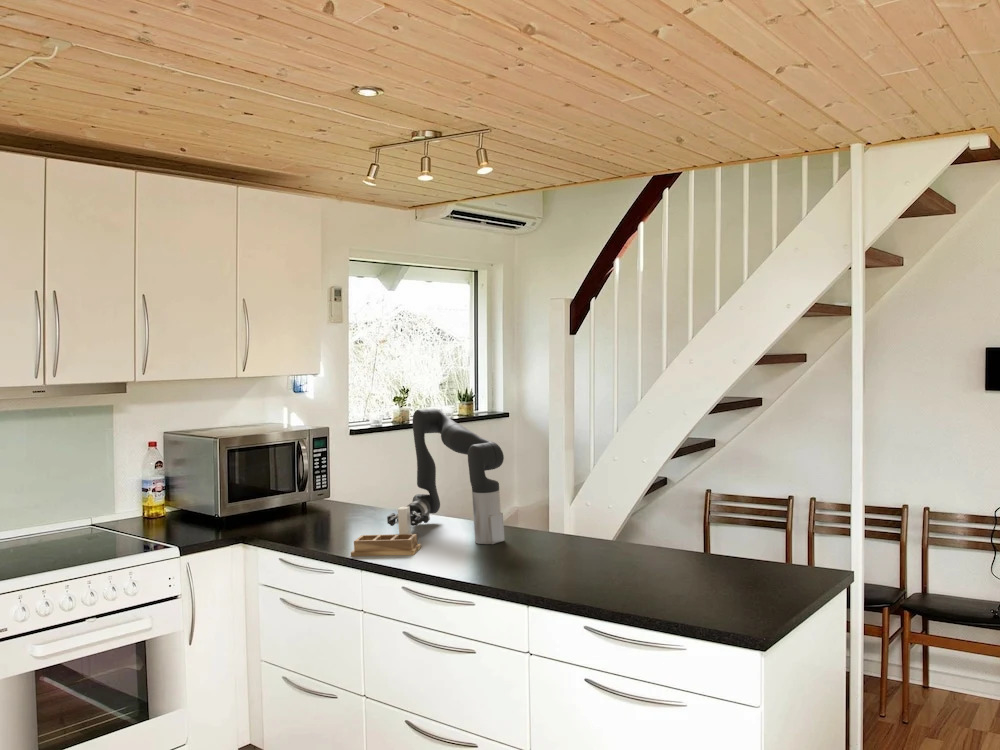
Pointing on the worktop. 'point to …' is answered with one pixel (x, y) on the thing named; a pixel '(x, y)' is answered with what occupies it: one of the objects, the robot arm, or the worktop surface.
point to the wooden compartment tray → (386, 545)
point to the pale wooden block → (404, 520)
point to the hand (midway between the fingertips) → (403, 522)
